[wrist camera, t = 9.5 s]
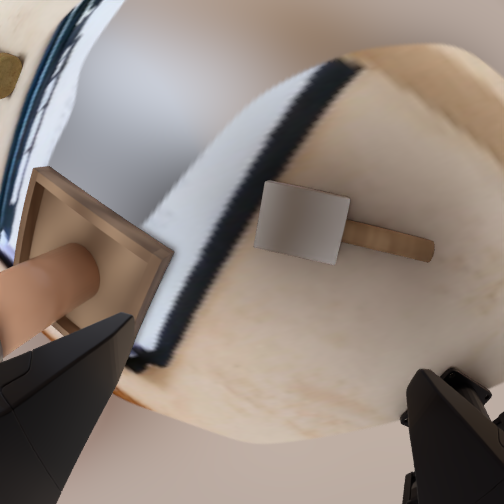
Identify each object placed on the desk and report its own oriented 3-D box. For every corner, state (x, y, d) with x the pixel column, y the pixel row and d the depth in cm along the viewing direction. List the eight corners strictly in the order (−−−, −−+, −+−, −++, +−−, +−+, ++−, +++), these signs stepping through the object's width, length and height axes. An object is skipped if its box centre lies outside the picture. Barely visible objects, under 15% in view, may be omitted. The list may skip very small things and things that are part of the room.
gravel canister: (97, 242, 23) (-27, 299, 12) (106, 305, 25) (3, 383, 13) (52, 238, 24) (-59, 285, 13) (61, 296, 26) (-36, 357, 14)
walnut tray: (174, 252, 23) (161, 260, 21) (124, 363, 27) (113, 375, 25) (49, 166, 23) (33, 167, 21) (24, 279, 27) (11, 285, 25)
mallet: (434, 219, 18) (442, 224, 17) (417, 277, 20) (424, 285, 18) (269, 180, 20) (265, 181, 18) (258, 241, 21) (253, 247, 20)
